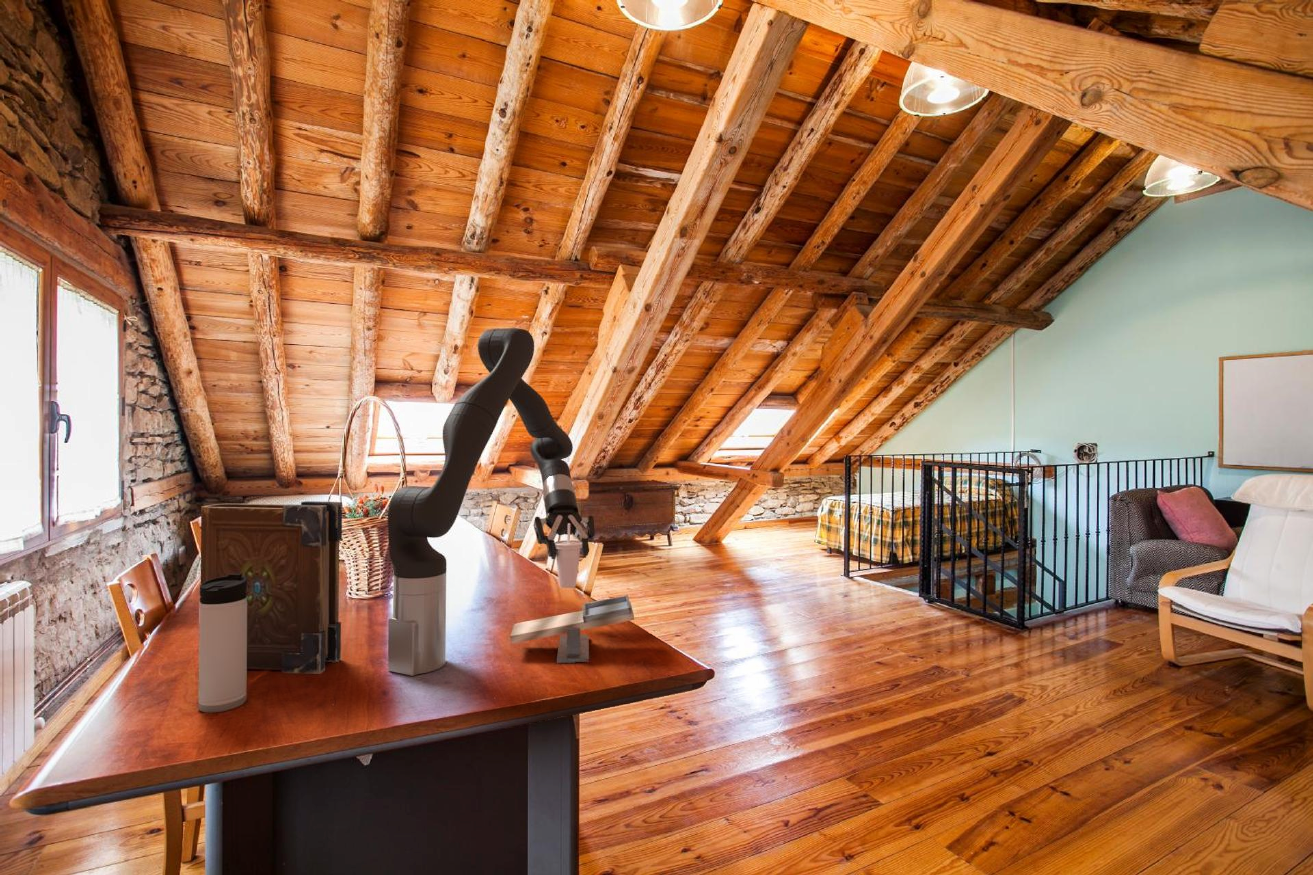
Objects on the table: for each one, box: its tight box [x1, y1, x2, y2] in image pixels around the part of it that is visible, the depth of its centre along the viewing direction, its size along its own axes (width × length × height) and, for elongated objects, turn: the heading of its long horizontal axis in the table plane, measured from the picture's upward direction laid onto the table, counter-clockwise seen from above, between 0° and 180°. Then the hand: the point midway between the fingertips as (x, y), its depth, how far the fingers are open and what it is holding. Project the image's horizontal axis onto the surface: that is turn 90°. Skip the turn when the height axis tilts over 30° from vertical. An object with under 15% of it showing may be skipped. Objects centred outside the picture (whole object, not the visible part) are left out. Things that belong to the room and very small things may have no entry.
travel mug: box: [197, 574, 248, 714], centre depth 100 cm, size 6×7×20 cm
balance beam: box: [509, 594, 635, 645], centre depth 127 cm, size 24×10×3 cm, turn 96°
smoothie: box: [554, 523, 583, 589], centre depth 142 cm, size 6×6×14 cm
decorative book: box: [200, 500, 343, 675], centre depth 117 cm, size 23×7×30 cm, turn 88°
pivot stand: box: [556, 612, 590, 664], centre depth 127 cm, size 6×14×6 cm, turn 7°
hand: (569, 556), depth 140 cm, fingers closed on smoothie, 6 cm apart
